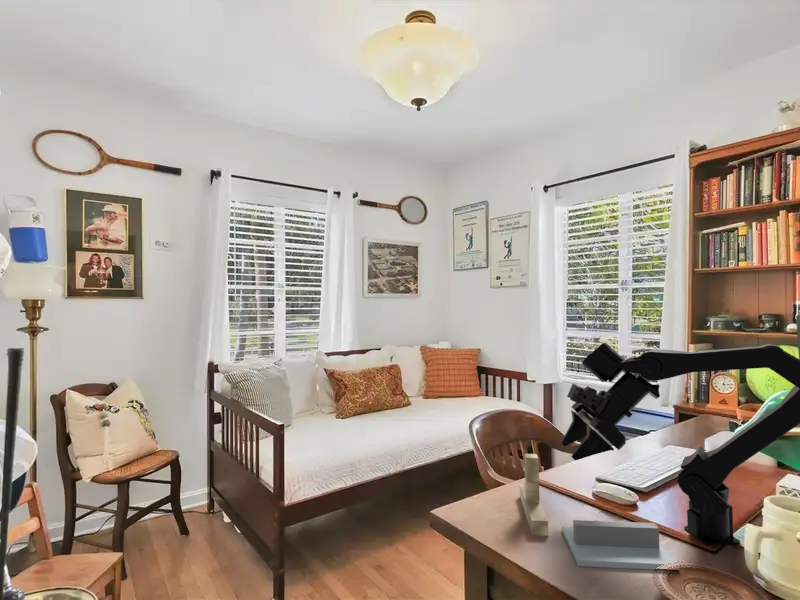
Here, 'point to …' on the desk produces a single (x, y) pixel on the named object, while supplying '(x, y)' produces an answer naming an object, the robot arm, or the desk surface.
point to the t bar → (533, 497)
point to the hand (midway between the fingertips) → (567, 451)
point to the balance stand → (616, 544)
